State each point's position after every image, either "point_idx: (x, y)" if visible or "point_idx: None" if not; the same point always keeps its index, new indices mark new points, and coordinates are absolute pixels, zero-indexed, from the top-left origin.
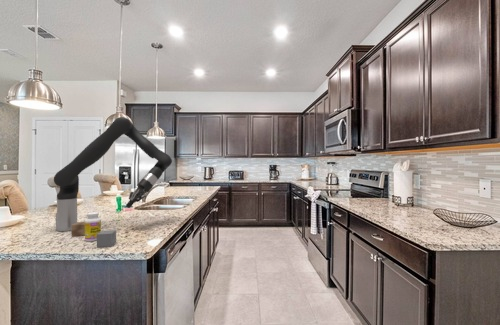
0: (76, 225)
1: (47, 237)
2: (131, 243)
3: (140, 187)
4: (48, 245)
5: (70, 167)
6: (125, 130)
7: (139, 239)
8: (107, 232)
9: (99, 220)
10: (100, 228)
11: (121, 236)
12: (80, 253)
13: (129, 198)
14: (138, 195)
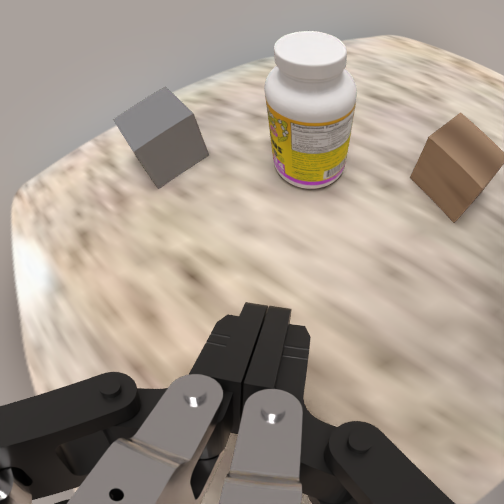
0: (448, 122)
1: (490, 122)
2: (91, 214)
3: None
4: (377, 76)
5: None
6: None
7: (92, 267)
8: (142, 115)
9: (268, 98)
10: (279, 144)
11: (217, 260)
12: (187, 87)
13: (339, 427)
14: (20, 438)
